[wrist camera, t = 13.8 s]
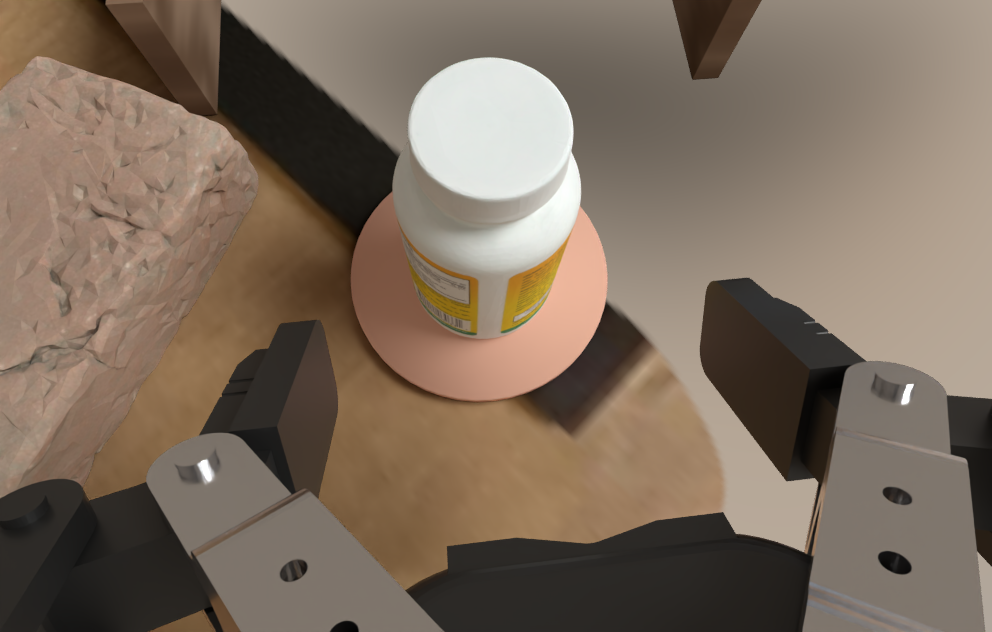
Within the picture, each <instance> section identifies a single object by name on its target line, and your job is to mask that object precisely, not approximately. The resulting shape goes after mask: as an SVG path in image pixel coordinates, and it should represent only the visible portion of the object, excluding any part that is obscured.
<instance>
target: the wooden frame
mask: <svg viewBox="0 0 992 632" xmlns="http://www.w3.org/2000/svg"><path fill="white" fill-rule="evenodd" d="M760 2H761V0H673V4H674V8H675V12H676V16H677V20H678V24H679V28H680V32H681V36H682V40H683V44H684V48H685V52H686V56H687V60H688V64H689V68H690V72H691V76H692V79H693V80H696V79H709V78H718V77H719V75H720V74H721V72H722V70H723V68H724V66H725V65H726V63H727V61H728V59H729V58H730V56H731V54H732V52H733V50H734V49H735V47H736V45H737V43H738V41H739V40H740V38H741V36H742V34H743V32H744V31H745V29H746V27H747V25H748V24H749V22H750V20H751V18H752V16H753V15H754V13H755V11H756V9H757V8H758V6H759V4H760ZM105 5H106V6H107V7H108V9H109V10H110V11H111V13H112V14H113V15H114V17H115V18H116V19H117V21H118V22H119V23H120V25H121V26H122V28H123V29H124V30H125V32H126V33H127V34H128V36H129V37H130V38H131V40H132V41H133V42H134V44H135V45H136V46H137V48H138V49H139V50H140V52H141V53H142V54H143V56H144V57H145V59H146V60H147V61H148V63H149V64H150V65H151V67H152V68H153V69H154V71H155V72H156V73H157V75H158V76H159V77H160V79H161V80H162V81H163V83H164V84H165V86H166V87H167V88H168V90H169V91H170V92H171V94H172V95H173V96H174V98H175V99H176V100H177V102H178V103H179V104H180V105H181V106H183V107H184V108H185V109H186V110H187V111H188V112H189V113H191V114H195V115H200V116H201V115H215V114H217V101H218V74H219V46H220V19H221V0H106V4H105Z"/></svg>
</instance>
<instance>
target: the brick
mask: <svg viewBox="0 0 992 632" xmlns="http://www.w3.org/2000/svg"><path fill="white" fill-rule="evenodd" d="M257 190H258V174H257V172H256V171H255V169H254V167H253V165H252V164H251V163H250V161H249V159H248V154H247V152H246V151H245V149H244V148H243V147H242V145H241V144H240V143H239V142H238V141H236V140H234V139H233V137H232V136H231V134H230V133H229V132H228V130H227V129H226V128H225V127H224V126H222V125H220V124H219V123H217V122H214V121H211V120H208V119H207V118H205V117H203V116H200V115H195V114H191V113H189V112H188V111H187V110H186V109H185V108H184V107H183V106H181V105H179V104H176V103H173V102H170V101H168V100H166V99H163V98H161V97H159V96H156V95H154V94H152V93H150V92H147V91H145V90H142V89H140V88H137V87H135V86H132V85H130V84H127V83H125V82H122V81H119V80H116V79H111V78H107V77H103V76H100V75H97V74H94V73H91V72H88V71H85V70H82V69H79V68H77V67H74V66H71V65H67V64H64V63H61V62H59V61H56V60H54V59H52V58H47V57H40V56H36V57H35V58H34V59H32V60H31V61H30V62H29V63H28V65H27V66H26V67H25V69H24V70H23V72H22V73H21V74H17V75H16V76H14V77H13V78H11V79H10V80H9V81H8V82H7V83H6V85H5V86H4V87H3V88H2V90H1V91H0V498H2V497H4V496H5V495H7V494H9V493H11V492H13V491H15V490H18V489H20V488H22V487H25V486H28V485H30V484H34V483H37V482H41V481H46V480H51V479H69V480H73V481H76V482H78V483H79V484H80V485H81V486H82V487H83V486H84V484H85V482H86V480H87V477H88V475H89V473H90V471H91V467H92V464H93V461H94V454H96V453H99V452H100V451H101V449H102V447H103V446H104V444H105V443H106V442H107V441H108V440H109V438H110V437H111V436H112V435H113V433H114V432H115V431H116V430H117V428H118V427H119V426H120V424H121V423H122V421H123V420H124V419H125V417H126V416H127V414H128V412H129V409H130V406H131V404H132V403H133V402H134V401H135V398H136V396H137V393H138V391H139V389H140V386H141V385H142V383H143V382H144V381H145V379H146V378H147V377H148V375H149V374H150V373H151V372H152V371H153V370H154V369H155V368H156V367H157V365H158V363H159V362H160V360H161V358H162V356H163V354H164V352H165V350H166V348H167V347H168V345H169V344H170V342H171V341H172V339H173V338H174V336H175V334H176V333H177V331H178V328H179V325H180V322H181V319H182V318H183V317H185V316H186V315H188V313H189V312H190V310H191V309H192V307H193V305H194V304H195V302H196V300H197V299H198V297H199V296H200V294H201V292H202V290H203V289H204V287H205V284H206V283H207V281H208V280H209V278H210V277H211V275H212V274H213V272H214V271H215V269H216V267H217V265H218V263H219V262H220V260H221V258H222V257H223V255H224V254H225V252H226V251H227V249H228V247H229V246H230V244H231V241H232V239H233V236H234V234H235V233H236V231H237V229H238V228H239V226H240V224H241V222H242V220H243V217H244V216H245V215H246V214H247V212H248V211H249V210H250V208H251V205H252V203H253V201H254V199H255V197H256V195H257Z"/></svg>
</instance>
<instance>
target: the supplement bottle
mask: <svg viewBox="0 0 992 632" xmlns="http://www.w3.org/2000/svg"><path fill="white" fill-rule="evenodd" d="M407 135H408V142H407V144H406V146H405V147H404V149H403V150H402V152H401V154H400V157H399V159H398V161H397V165H396V168H395V172H394V177H393V202H394V208H395V213H396V217H397V221H398V225H399V229H400V233H401V237H402V241H403V245H404V249H405V252H406V256H407V261H408V264H409V268H410V272H411V276H412V280H413V284H414V288H415V291H416V293H417V296H418V298H419V300H420V302H421V304H422V306H423V308H424V309H425V311H426V312H427V313H428V314H429V315H430V316H431V317H432V318H433V319H434V320H435V321H436V322H437V323H438V324H440V325H441V326H442V327H444V328H445V329H447V330H449V331H451V332H453V333H455V334H458V335H460V336H464V337H469V338H476V339H490V338H497V337H501V336H505V335H508V334H511V333H513V332H515V331H517V330H518V329H520V328H521V327H523V326H524V325H525V324H527V323H528V322H529V321H530V320H531V319H532V318H533V317H534V316H536V314H537V313H538V312H539V311H540V309H541V308H542V306H543V305H544V303H545V301H546V300H547V297H548V295H549V293H550V290H551V288H552V285H553V282H554V279H555V276H556V273H557V270H558V267H559V265H560V262H561V259H562V256H563V254H564V251H565V248H566V245H567V243H568V240H569V238H570V235H571V232H572V230H573V227H574V224H575V221H576V218H577V215H578V211H579V206H580V198H581V182H580V176H579V171H578V167H577V164H576V161H575V159H574V157H573V155H572V152H571V149H572V143H573V122H572V116H571V113H570V110H569V107H568V104H567V103H566V101H565V99H564V98H563V96H562V94H561V93H560V92H559V90H558V89H557V88H556V86H555V85H554V84H553V83H552V82H551V81H550V80H549V79H548V78H546V77H545V76H543V75H542V74H541V73H539V72H538V71H536V70H534V69H533V68H530V67H528V66H526V65H524V64H521V63H519V62H515V61H511V60H507V59H501V58H477V59H470V60H466V61H462V62H459V63H456V64H454V65H452V66H450V67H447V68H446V69H444V70H442V71H441V72H439V73H438V74H436V75H435V76H433V77H432V78H431V79H430V80H429V81H428V82H427V83H426V84H425V85H424V86H423V87H422V88H421V90H420V91H419V92H418V94H417V96H416V97H415V99H414V101H413V104H412V107H411V109H410V112H409V117H408V125H407Z"/></svg>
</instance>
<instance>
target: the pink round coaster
mask: <svg viewBox="0 0 992 632" xmlns="http://www.w3.org/2000/svg"><path fill="white" fill-rule="evenodd" d="M351 291H352V300H353V304H354V308H355V312H356V315H357V318H358V320H359V323H360V325H361V327H362V330H363V332H364V333H365V335H366V337H367V338H368V340H369V342H370V343H371V345H372V347H373V348H374V349H375V351H376V352H377V353H378V354H379V356H380V357H381V358H382V359H383V361H384V362H385V363H386V364H388V365H389V366H390V367H391V368H392V369H393V370H394V371H395V372H396V373H397V374H399V375H400V376H402V377H403V378H404V379H406V380H407V381H409V382H410V383H412V384H414V385H416V386H418V387H419V388H421V389H423V390H425V391H428V392H431V393H433V394H436V395H439V396H442V397H446V398H450V399H455V400H460V401H471V402H487V401H498V400H504V399H509V398H513V397H516V396H520V395H523V394H526V393H529V392H531V391H533V390H535V389H537V388H539V387H542V386H544V385H545V384H547V383H548V382H550V381H551V380H553V379H555V378H556V377H558V376H559V375H560V374H561V373H562V372H563V371H565V370H566V369H567V368H568V367H569V366H570V365H571V364H572V363H573V362H574V361H575V360H576V359H577V358H578V356H579V355H580V354H581V353H582V351H583V350H584V348H585V347H586V346H587V344H588V343H589V341H590V340H591V338H592V336H593V334H594V332H595V330H596V328H597V326H598V324H599V322H600V319H601V316H602V313H603V310H604V306H605V300H606V295H607V267H606V259H605V255H604V252H603V248H602V244H601V242H600V239H599V237H598V234H597V232H596V230H595V228H594V226H593V225H592V223H591V221H590V219H589V217H588V216H587V215H586V213H585V212H584V211H583V209H582V208H581V207H580V206H579V211H578V215H577V218H576V221H575V224H574V227H573V230H572V232H571V235H570V238H569V240H568V243H567V245H566V248H565V251H564V254H563V256H562V259H561V262H560V265H559V267H558V270H557V273H556V276H555V279H554V282H553V285H552V288H551V290H550V293H549V295H548V297H547V300H546V301H545V303H544V305H543V306H542V308H541V309H540V311H539V312H538V313H537V314H536V316H534V317H533V318H532V319H531V320H530V321H529V322H528V323H527V324H525V325H524V326H523V327H521V328H520V329H518V330H517V331H515V332H513V333H511V334H508V335H505V336H501V337H497V338H490V339H476V338H469V337H464V336H460V335H458V334H455V333H453V332H451V331H449V330H447V329H445V328H444V327H442V326H441V325H440V324H438V323H437V322H436V321H435V320H434V319H433V318H432V317H431V316H430V315H429V314H428V313H427V312H426V311H425V309H424V308H423V306H422V304H421V302H420V300H419V298H418V296H417V293H416V291H415V288H414V284H413V280H412V276H411V272H410V268H409V264H408V261H407V256H406V252H405V249H404V245H403V241H402V237H401V233H400V229H399V225H398V221H397V217H396V213H395V208H394V202H393V191H392V192H391V193H390V194H389V195H388V196H387V197H386V198H385V199H384V200H383V201H382V202H381V203H380V204H379V205H378V207H377V208H376V209H375V210H374V211H373V213H372V215H371V216H370V218H369V219H368V221H367V222H366V224H365V226H364V228H363V230H362V232H361V234H360V236H359V238H358V241H357V245H356V248H355V251H354V255H353V261H352V266H351Z"/></svg>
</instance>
